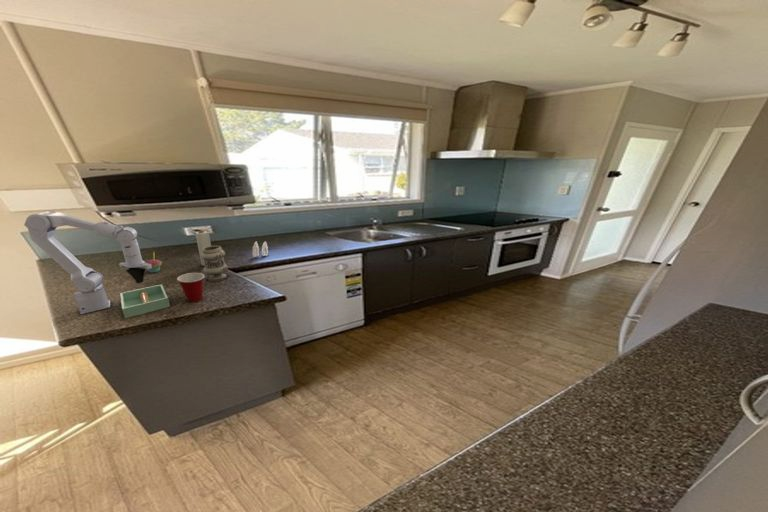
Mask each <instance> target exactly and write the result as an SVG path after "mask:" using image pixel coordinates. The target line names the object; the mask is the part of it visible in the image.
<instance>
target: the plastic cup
mask: <svg viewBox="0 0 768 512" xmlns="http://www.w3.org/2000/svg"><path fill="white" fill-rule="evenodd" d="M205 277H206V276H205V273H201V272H188V273H183V274H181V275H179V276H178V277H177V278H176V280H177V282H178V283H179V285H180V287H181V289H182V291H183V293H184V295H185V297H186V300H187V301H188V302H190V303H194V302H198V301H201V300H202V299H203V290H204V289H203V287H204V280H205V279H204V278H205Z"/></svg>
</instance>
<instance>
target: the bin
mask: <svg viewBox="0 0 768 512" xmlns="http://www.w3.org/2000/svg"><path fill="white" fill-rule="evenodd" d="M141 291H146V292H147V294H148V297H149V300H150V302H146V303H141V299H140V296H139V293H140V292H141ZM119 296H120V304H121V310H122V313H123V316H124V319H128V318H129V319H130V318H131V317H136V316H139V315H144V314H148V313H152V312H155V311H159V310H162V309H166V308H170V307H171V304H170V300H169V297H168V294H167V292H166V290H165V287H164V286H163V284H162V283H161V284H156V285H152V286H147V287H142V288H138V289H133V290H128V291H124V292H120V293H119Z"/></svg>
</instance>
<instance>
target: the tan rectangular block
mask: <svg viewBox="0 0 768 512" xmlns="http://www.w3.org/2000/svg"><path fill="white" fill-rule="evenodd" d="M139 296H140V299H141V303H146V302H150V300H149V297H148V294H147V292H146V291H141V292H140V293H139Z"/></svg>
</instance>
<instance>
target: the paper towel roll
mask: <svg viewBox="0 0 768 512" xmlns="http://www.w3.org/2000/svg"><path fill="white" fill-rule="evenodd" d="M195 238H196V243H197V248H198V253H199V259H200V265H201V266H203V267H205V262H204V259H202V258H201V253H202V252H203V248H205V247H209V246H212V243H211V237H210V232H208V231H205V230H200V231H195Z"/></svg>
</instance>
